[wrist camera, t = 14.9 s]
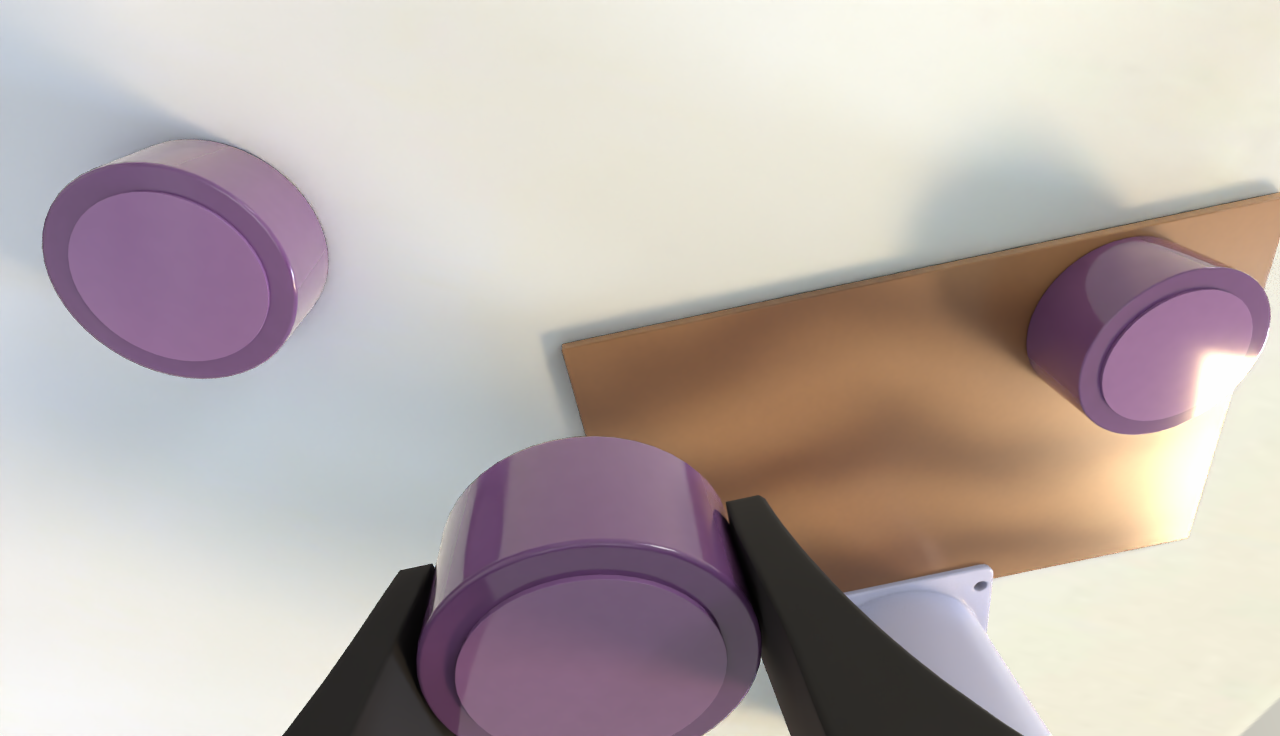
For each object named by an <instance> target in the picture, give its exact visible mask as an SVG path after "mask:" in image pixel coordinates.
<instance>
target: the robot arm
mask: <svg viewBox="0 0 1280 736" xmlns="http://www.w3.org/2000/svg"><path fill="white" fill-rule="evenodd" d="M726 507H727V513H728V519H729V525H730V528H731V531H732V535H733V538H734V541H735V545H736V548H737V551H738V555H739V558H740V561H741V565H742V568H743V570H744V573H745V576H746V579H747V582H748V586H749V589H750V592H751V596H752V599H753V602H754V606H755V609H756V612H757V616H758V619H759V623H760V627H761V631H762V652H761V657H762V660H763V663H764V665H765V668H766V671H767V674H768V676H769V679H770V682H771V684H772V687H773V690H774V692H775V695H776V698H777V700H778V703H779V706H780V708H781V711H782V714H783V716H784V719H785V722H786V724H787V727H788V730H789V732H790V735H791V736H1052V734H1051V733H1050V731H1049V730H1048V728H1047V727H1046V725H1045V724H1044V722H1043V721H1042V719H1041V717H1040V716H1039V714H1038V713H1037V711H1036V710H1035V708H1034V707H1033V705H1032V704H1031V702H1030V700H1029V699H1028V697H1027V696H1026V694H1025V693H1024V691H1023V690H1022V688H1021V687H1020V685H1019V683H1018V682H1017V680H1016V679H1015V677H1014V676H1013V674H1012V673H1011V671H1010V669H1009V668H1008V666H1007V665H1006V663H1005V662H1004V660H1003V659H1002V657H1001V656H1000V654H999V652H998V651H997V649H996V648H995V646H994V645H993V643H992V642H991V640H990V639H989V637H988V635H987V627H988V618H989V609H990V600H991V591H992V581H993V570H992V569H991V567H989V566H988V565H985V564H980V565H975V566H970V567H965V568H961V569H956V570H951V571H946V572H941V573H936V574H932V575H927V576H922V577H917V578H912V579H907V580H903V581H898V582H893V583H888V584H883V585H878V586H873V587H869V588H864V589H859V590H854V591H849V592H844V593H843V592H842V591H841V590H840V589H839V588H838V587H837V586H836V585H835V584H834V583H833V582H832V581H831V580H830V578H829V577H828V576H827V575H826V574H825V573H824V572H823V571H822V570H821V569H820V568H819V566H818V565H817V564H816V563H815V562H814V561H813V560H812V559H811V558H810V557H809V555H808V554H807V553H806V552H805V551H804V550H803V548H802V547H801V546H800V545H799V544H798V542H797V541H796V540H795V539H794V538H793V536H792V535H791V534H790V533H789V531H788V530H787V529H786V528H785V526H784V525H783V524H782V522H781V521H780V520H779V518H778V517H777V516H776V514H775V513H774V511H773V510H772V508H771V507H770V505H769V504H768V502H767V500H766V499H765V498H763V497H762V496H760V495H756V496H751V497H746V498H741V499H737V500H732V501H727V502H726ZM434 571H435V568H434V566H433V564H428V565H424V566H419V567H414V568H409V569H405V570H400V571H399V572H398V574H397V575H396V577H395V578H394V580H393V581H392V582H391V584H390V585H389V587H388V588H387V590H386V591H385V593H384V594H383V596H382V597H381V599H380V600H379V602H378V603H377V605H376V606H375V608H374V609H373V611H372V612H371V613H370V615H369V616H368V618H367V619H366V621H365V622H364V624H363V625H362V627H361V628H360V630H359V631H358V633H357V634H356V636H355V637H354V639H353V640H352V642H351V643H350V645H349V646H348V647H347V649H346V650H345V652H344V653H343V655H342V656H341V657H340V659H339V660H338V662H337V663H336V665H335V666H334V667H333V669H332V670H331V672H330V673H329V675H328V676H327V677H326V679H325V680H324V682H323V683H322V684H321V686H320V687H319V688H318V690H317V691H316V692H315V694H314V695H313V696H312V697H311V699H310V700H309V701H308V703H307V704H306V705H305V707H304V708H303V709H302V711H301V712H300V713H299V715H298V716H297V717H296V719H295V720H294V721H293V723H292V724H291V725H290V727H289V728H288V729H287V731H286V732H285V733H284V734H283V735H282V736H455V735H454V734H453V733H451V732H450V731H449V730H448V729H447V728H446V727H445V726H444V725H443V724H442V723H441V722H440V721H439V720H438V719H437V718H436V717H435V715H434V714H433V712H432V711H431V710H430V708H429V707H428V705H427V703H426V701H425V699H424V697H423V695H422V692H421V690H420V686H419V682H418V678H417V673H416V652H417V646H418V641H419V636H420V632H421V628H422V623H423V619H424V615H425V610H426V606H427V601H428V597H429V593H430V588H431V584H432V580H433V575H434Z"/></svg>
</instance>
